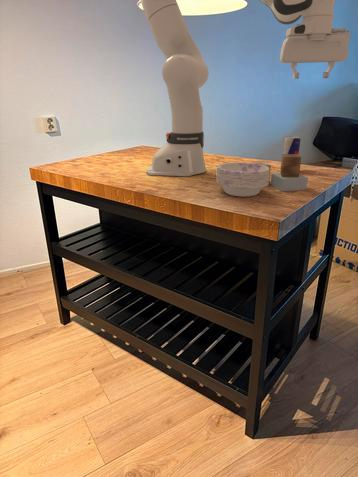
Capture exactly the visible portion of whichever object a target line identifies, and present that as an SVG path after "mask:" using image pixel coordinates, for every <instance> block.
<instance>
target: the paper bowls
mask: <svg viewBox="0 0 358 477" xmlns="http://www.w3.org/2000/svg"><path fill="white" fill-rule="evenodd" d="M254 163H255V162H226V163H221V164H219V165H217V166H216V174H215V175H216V181H215V182H216V184H218V185H220V186H222V187H221V188H222V189H223V191H224V193H225V194H227V195H229V196H234V197H240V198H241V197H242V198H247V197H253V196H256V195H258V194H259V193H260V192H261V190H262V189H264V188H266V187H268V186H269V183H270V181H269V170H270V171H271V169H269V167H267V166H265V165H261V164H254ZM268 182H269V183H268Z"/></svg>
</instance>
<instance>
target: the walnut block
mask: <svg viewBox="0 0 358 477" xmlns="http://www.w3.org/2000/svg"><path fill="white" fill-rule="evenodd" d="M301 161H302V156H301V155H300V153H299V154H284V153H282V154H281V164H280V171H279V173H280V174H281V176H282V177H299V174H300V170H301V165H302V162H301Z"/></svg>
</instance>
